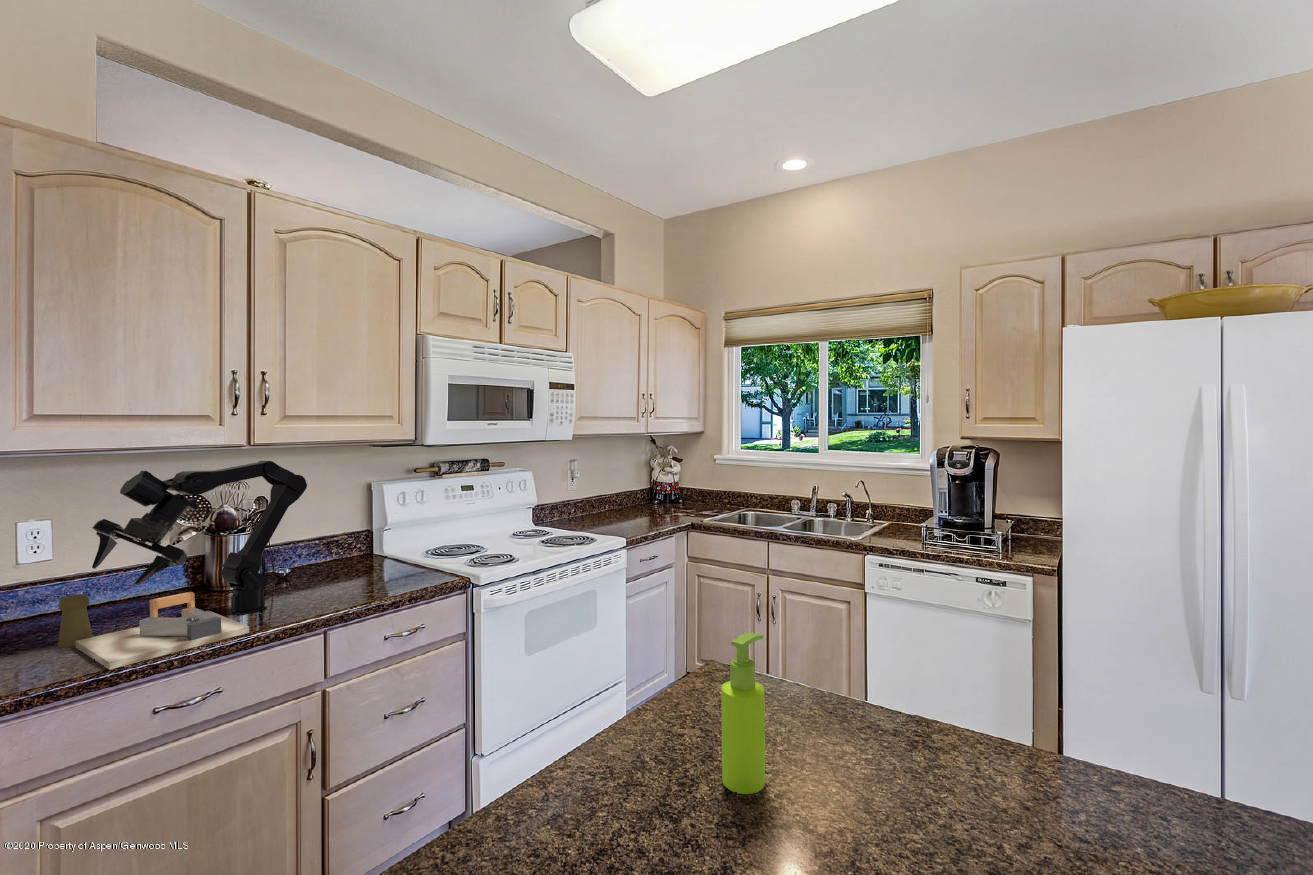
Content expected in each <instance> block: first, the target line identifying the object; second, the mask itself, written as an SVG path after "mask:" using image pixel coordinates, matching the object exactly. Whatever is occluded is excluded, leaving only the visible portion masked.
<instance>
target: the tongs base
mask: <svg viewBox="0 0 1313 875" xmlns="http://www.w3.org/2000/svg"><path fill="white" fill-rule="evenodd" d="M181 617H182V618H190V617H195V618H199V621H196V622H192V623H188V624H187V638H188V639H189V640H191V641H192V640H196V639H200V638H203V637H207V636H211V635H215V634H219V633H222V631H221V618H220V617H217V616H215V615H212V614H210V613H207V612H205V611H204V610H203V609H199V608H196V606H195V607H190V608H187V607H186V608H183V609H181Z"/></svg>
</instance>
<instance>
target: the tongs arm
mask: <svg viewBox="0 0 1313 875" xmlns="http://www.w3.org/2000/svg"><path fill="white" fill-rule="evenodd" d="M196 621H199V618H195V617H190V618H178V617H164V616H163V617H162V616H161V617H160V616H158V617H150V616H148V617H145V618H144V619H141V620H139V621H138V624H139V625H138V627H139V626H140V636H187V624H188V623H192V622H196Z"/></svg>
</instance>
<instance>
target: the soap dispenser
mask: <svg viewBox="0 0 1313 875" xmlns="http://www.w3.org/2000/svg"><path fill="white" fill-rule="evenodd" d="M763 638H764V635H762V634H758V633H755V632H745V633H743V634H740V635H738V636H737V637H735V638H734V639H732V640H731V641H730V643H731V644H730V645H731V646H732V647H736V649H735V650H736V651H735V652H736V655H735V656H736V658H735V659H732V660H731V661H730V663H729V664H730V665H729V666H730V669H729V670H730V671H729V672H730V674H729V676H730V680H728V681H726V682H724V683H723V684H722V685H721V689H720V690H721V694H720V695H721V782H722V784H723V786H724V787H725V788H728V789H727V790H729V791H730V792H732V793H735V792H737V793H736V794H739V795H751V794H756V793H758V792H761V790H763V789H764V787H766V786H765V785H766V744H765V743H766V735H765V734H766V718H765V716H766V714H765V713H766V712H765V711H766V709H765V702H766V701H765V700H766V699H765V698H766V697H765V695H766V694H765V687H764V686H763V685H762V684H761V683H759V682H757V681H756V662H754V660H752V659H750V647H749V646H750V645H751V644H753V643H754V642H756V641H761V640H763Z"/></svg>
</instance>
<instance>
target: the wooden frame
mask: <svg viewBox="0 0 1313 875" xmlns="http://www.w3.org/2000/svg"><path fill="white" fill-rule="evenodd" d="M185 603H186V608H190V607H195V608H196V606H195V603H196V601H195V592H192V591H188V592H183V593H177V594H172V595H168V596H163V597H158V598H153V599H149V617H159V613H158V612H159V611H158V610H159V609H164V608H169V607H173V606H174V607H175V606H177V605H178V606H179V605H182V604H183V605H184V604H185Z"/></svg>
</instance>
